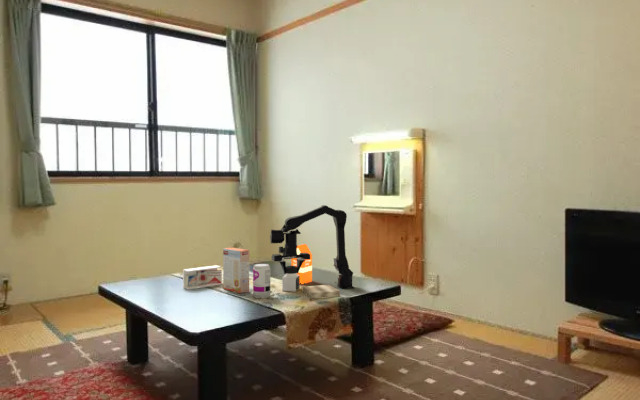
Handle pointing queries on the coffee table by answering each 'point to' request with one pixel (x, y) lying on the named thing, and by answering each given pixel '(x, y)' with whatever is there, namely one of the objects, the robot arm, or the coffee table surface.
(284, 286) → the medicine bottle
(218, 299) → the coffee table surface
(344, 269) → the robot arm
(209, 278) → the cigarette display
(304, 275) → the orange juice
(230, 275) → the cracker box
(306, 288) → the pale wooden riser board
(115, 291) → the coffee table surface
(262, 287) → the supplement can
